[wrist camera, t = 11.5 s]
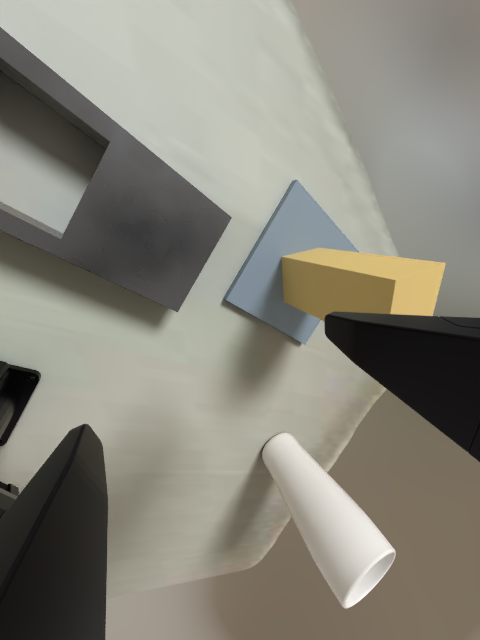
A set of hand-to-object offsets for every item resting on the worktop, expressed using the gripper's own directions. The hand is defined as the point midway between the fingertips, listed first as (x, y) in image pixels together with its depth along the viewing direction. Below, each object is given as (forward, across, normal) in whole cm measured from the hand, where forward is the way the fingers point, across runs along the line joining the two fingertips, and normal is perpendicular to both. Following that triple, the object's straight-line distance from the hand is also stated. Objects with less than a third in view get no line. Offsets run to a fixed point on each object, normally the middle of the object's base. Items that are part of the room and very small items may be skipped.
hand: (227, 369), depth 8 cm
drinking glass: (+13, -7, +26) cm, 30 cm away
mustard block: (+12, -13, +3) cm, 18 cm away
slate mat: (+13, -13, +3) cm, 19 cm away
